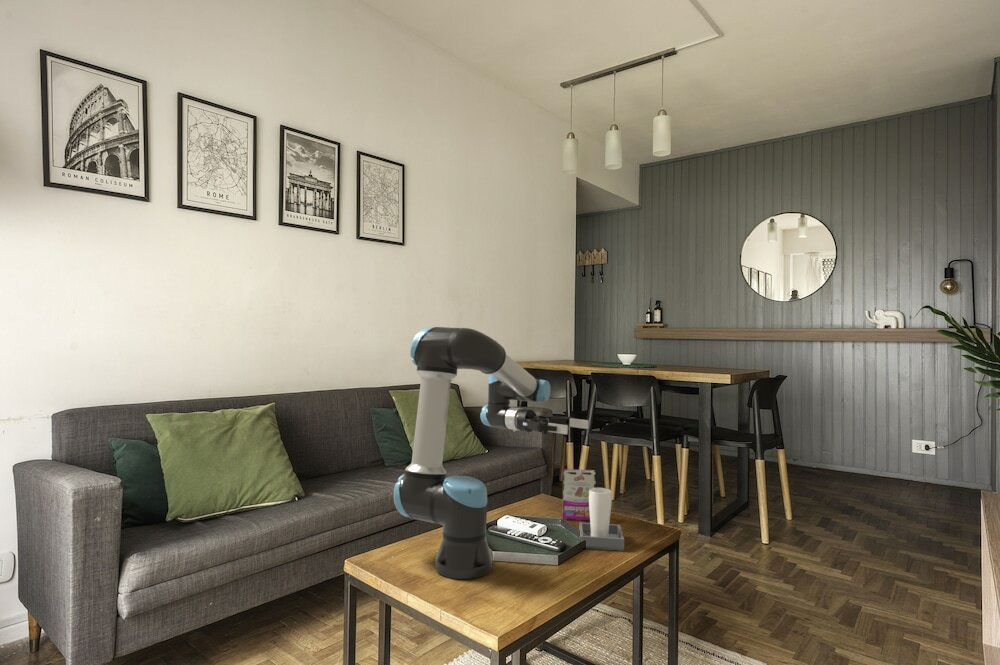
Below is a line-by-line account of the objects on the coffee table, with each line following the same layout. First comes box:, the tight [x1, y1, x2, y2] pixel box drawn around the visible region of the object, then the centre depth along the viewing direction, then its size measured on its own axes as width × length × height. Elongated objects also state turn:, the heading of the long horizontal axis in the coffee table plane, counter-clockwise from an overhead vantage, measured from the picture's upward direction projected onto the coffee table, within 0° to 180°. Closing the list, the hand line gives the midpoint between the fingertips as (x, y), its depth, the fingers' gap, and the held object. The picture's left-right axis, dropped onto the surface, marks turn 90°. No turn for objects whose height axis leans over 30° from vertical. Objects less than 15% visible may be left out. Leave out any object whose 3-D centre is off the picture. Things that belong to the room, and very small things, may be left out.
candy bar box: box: [562, 468, 597, 522], centre depth 192 cm, size 11×5×16 cm, turn 84°
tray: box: [578, 521, 625, 552], centre depth 170 cm, size 13×13×4 cm
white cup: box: [589, 487, 612, 537], centre depth 170 cm, size 7×7×15 cm
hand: (577, 427), depth 176 cm, fingers open, 13 cm apart
